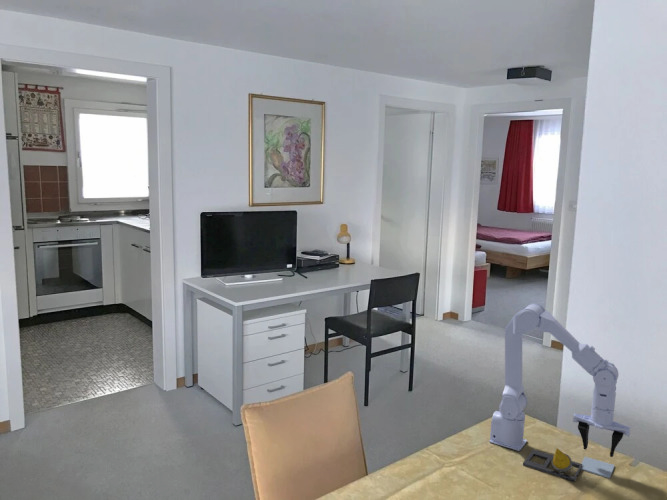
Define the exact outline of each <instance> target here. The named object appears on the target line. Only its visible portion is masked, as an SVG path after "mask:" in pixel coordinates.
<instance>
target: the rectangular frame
mask: <svg viewBox="0 0 667 500" xmlns="http://www.w3.org/2000/svg"><path fill="white" fill-rule="evenodd" d="M553 456H554V455H553V454H551V453H550V454H549V453H547V452H543V451H540V450H536V449H532V450H531V451H530V452H529V454H528V456H527V457H526V458H525V459H524V461H523V462H522V466H523V467H526V468H529V469H533V470H537V471H539V472H541V473H546V474H547V475H551V476H555V477H557V478H561V479H563V480H567V481H571V482H572V483H576V481H577V478H578V476H579V474H580V473H581V471H582V470H581V467H582V465H583V464H581V462H576V461H572V460H571V461H572V467H575V468H577V470H576V472H575V474H574V476H573V475H569V474H566V473H565V472H559V471H557V470H555V469H554V470H553V469H551V468H549V466H550V464H551V459H552V457H553ZM534 457H537V458H540V459H542V460H545V462H544V463H543V464H541V463H538V462H534V461H532V459H533V458H534Z"/></svg>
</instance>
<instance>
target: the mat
mask: <svg viewBox="0 0 667 500" xmlns="http://www.w3.org/2000/svg"><path fill="white" fill-rule="evenodd" d="M580 464H583V465H582V467H581V470H580V471H584V472H587V473H590V474H594V475H598V476H600V477H604V478H607V479H611V476H612V475H613V471H614V470H615V467H616V466H615V464H611V463H609V462H606V461H603V460H602V461H601V460H599V459H595V458H591V457H588V456H584V457H583V459H582V461H581V462H580Z"/></svg>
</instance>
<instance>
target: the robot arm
mask: <svg viewBox="0 0 667 500" xmlns="http://www.w3.org/2000/svg"><path fill="white" fill-rule="evenodd" d="M536 328H538V329H537V330H536V331H537V332H540V333H549V334H550V335H551V336H553V337H554V338H555V339H556V340H558V342H560V343H561V344H562V345H563V346H565V347H566V348H567V349H568V350H569V351H570V352H571V359H573V360H574V362H576V363H577V364H578V365H579V366H580V367H581V368H582V369H583V370H584V371H586V372H587V374H588V375H590V376H592V379H593V382H594V388H593V390H592V398H591V399H592V400H591V410H590V415H588V414H587V415H586V414H581V413H580V414H579V413H574V414H573V418H572V422H573V423H578V425H577V430H578V431H579V434H580V436H581V439H582V440H581V441H582V445H583V449H584V450H587V448H588V446H589V434H590V433H589V432H590V426H591V427H594V428H597V429H599V430H603V429H604V430H608V431H611V432H612V434H611V447H610V450H609V451H610V452H609V457H611V458H613V456H614V455H615V450H616V449H617V446H618V445H619V443H620V441H622V439H623V437H624V436H627V437H629V436H630V434H631V426H629V425H624V424H622V423H620V422H617V421H614V415H615V408H616V395H617V392H616V390H617V383H618V379H619V370H618V368H617V367H616V366H615V364H614V363H612V362H609V360H607V359H604V358H603V357H602V356H600V354H598V352H596V351H595V350H596V348H595V347H594V346H593V345H591V346H590V345H589V344H588V343H581V342H579V341H578V340H577V339H576V338H575V337H574V336H573V335H572V334H571V333H570V332H569V331H568V330H567V329H566V328H565V327H564V326H563V325H562V324H561V323H560V322H559V320H557V319H556V317H554V316H553V314H552V313H551V312H550V311H549V310H547V309H545V308H544V307H543V305H541V304H539V303H529V304H527V305H526V306H524V307H522V309H520V310H519V311H518V312H517V313H515V314H514V315H513V317H512V318H511V320H510V321H509V323H508V324H507V325H506V327H505V328H504V389H503V391H502V397H501V402H499V405H498V409H499V410H495V411H494V412H493V414H492V417H491V423H490V434H489V441H488V442H489V443H491V444H494V445H497V446H502V447H504V448H508V449H510V450H511V449H512V450H515V451H518V452H520V451H521V450H522V449H523V448H524V446H525V445H526V443H528V439H524V434H525V433H524V432H525V422H526V415H525V412H524V409H525V408H526V407H527V405H528V397H527V396H526V393H525V386H524V384H523V335H524V334H526V333H527V332H529V331H533V330H535V329H536Z"/></svg>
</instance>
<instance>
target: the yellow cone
mask: <svg viewBox="0 0 667 500" xmlns="http://www.w3.org/2000/svg"><path fill="white" fill-rule="evenodd" d="M550 464H551V466H552V468H553V469H554V471H557V472H560V473H565V472H568V471H570V470H571V469H572V467H573V466H572V458H571V456H570V455H568V454H567V453H564V452H563V451H562V450H560V449H559V448H556V450H555V452H554V455H553V457H552V459H551V462H550Z"/></svg>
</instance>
